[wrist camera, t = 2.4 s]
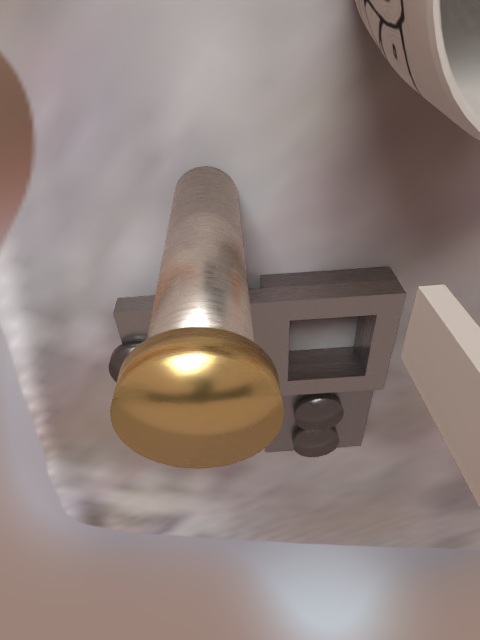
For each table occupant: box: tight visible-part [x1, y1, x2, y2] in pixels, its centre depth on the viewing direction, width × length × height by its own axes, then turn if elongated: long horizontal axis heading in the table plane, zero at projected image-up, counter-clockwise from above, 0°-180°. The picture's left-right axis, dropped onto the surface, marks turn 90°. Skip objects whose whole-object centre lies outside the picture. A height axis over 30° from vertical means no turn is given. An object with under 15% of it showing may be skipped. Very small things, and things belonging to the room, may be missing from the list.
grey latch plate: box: [261, 267, 397, 457], centre depth 27 cm, size 15×7×2 cm, turn 3°
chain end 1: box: [109, 279, 406, 396], centre depth 23 cm, size 15×7×2 cm, turn 93°
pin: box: [110, 166, 284, 468], centre depth 15 cm, size 4×4×13 cm
